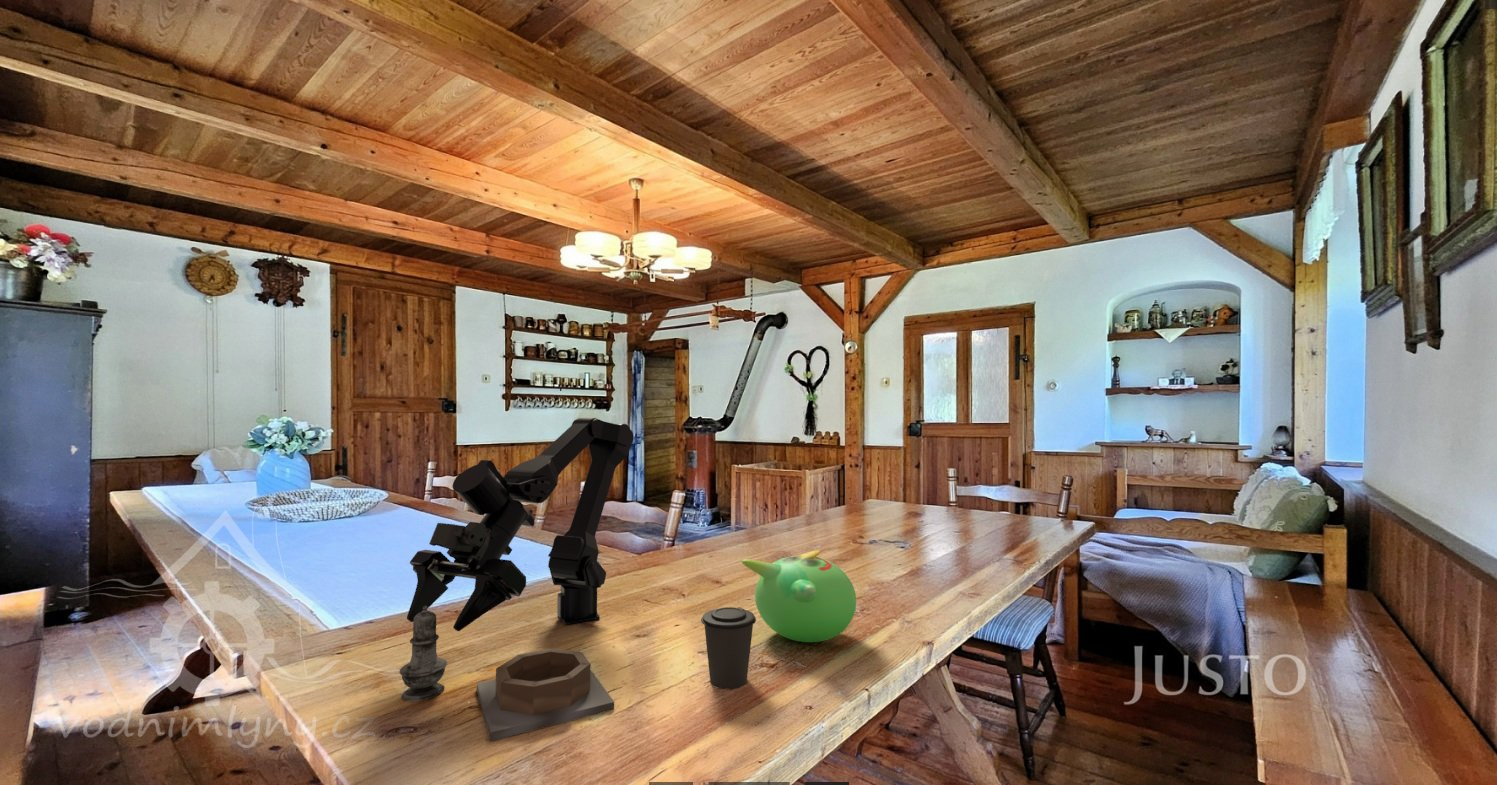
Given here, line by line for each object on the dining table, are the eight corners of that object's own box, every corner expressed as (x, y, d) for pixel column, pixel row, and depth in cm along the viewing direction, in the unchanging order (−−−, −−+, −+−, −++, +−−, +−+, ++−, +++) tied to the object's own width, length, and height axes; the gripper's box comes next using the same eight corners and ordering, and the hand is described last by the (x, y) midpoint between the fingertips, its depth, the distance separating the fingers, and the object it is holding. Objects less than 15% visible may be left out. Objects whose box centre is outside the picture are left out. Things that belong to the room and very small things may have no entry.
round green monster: (873, 638, 102) (873, 553, 103) (815, 668, 90) (815, 571, 91) (792, 614, 115) (792, 538, 115) (731, 638, 102) (732, 552, 103)
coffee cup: (763, 673, 88) (763, 605, 89) (745, 697, 81) (745, 623, 81) (713, 665, 91) (713, 600, 91) (691, 688, 83) (691, 616, 84)
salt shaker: (426, 704, 79) (428, 613, 79) (388, 700, 80) (390, 610, 80) (456, 685, 84) (458, 600, 85) (420, 681, 86) (422, 597, 86)
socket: (584, 667, 90) (584, 637, 90) (614, 709, 77) (614, 674, 78) (476, 690, 83) (477, 657, 83) (490, 741, 70) (491, 702, 70)
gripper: (422, 497, 93) (349, 587, 82) (514, 505, 86) (446, 603, 75) (463, 539, 100) (400, 626, 89) (550, 549, 92) (493, 645, 82)
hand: (432, 625), depth 83 cm, fingers open, 9 cm apart
